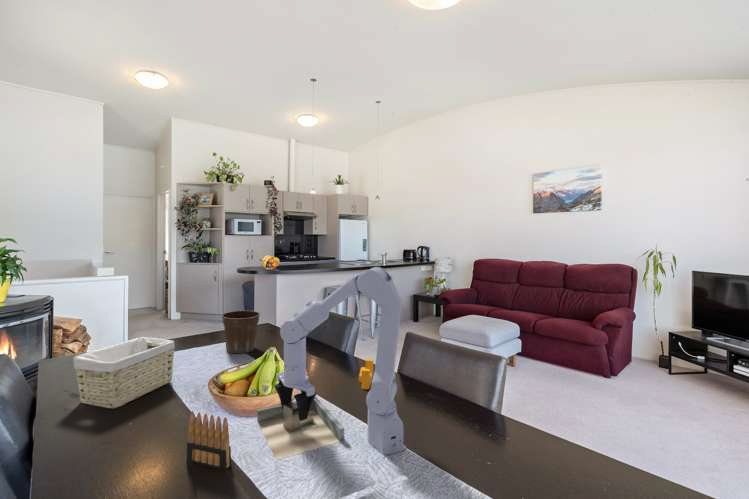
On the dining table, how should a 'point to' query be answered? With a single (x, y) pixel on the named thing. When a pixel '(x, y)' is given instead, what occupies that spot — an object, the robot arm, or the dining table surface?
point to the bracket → (294, 418)
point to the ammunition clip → (208, 442)
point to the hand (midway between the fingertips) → (294, 414)
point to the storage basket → (124, 371)
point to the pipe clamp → (366, 374)
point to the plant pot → (240, 330)
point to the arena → (303, 439)
